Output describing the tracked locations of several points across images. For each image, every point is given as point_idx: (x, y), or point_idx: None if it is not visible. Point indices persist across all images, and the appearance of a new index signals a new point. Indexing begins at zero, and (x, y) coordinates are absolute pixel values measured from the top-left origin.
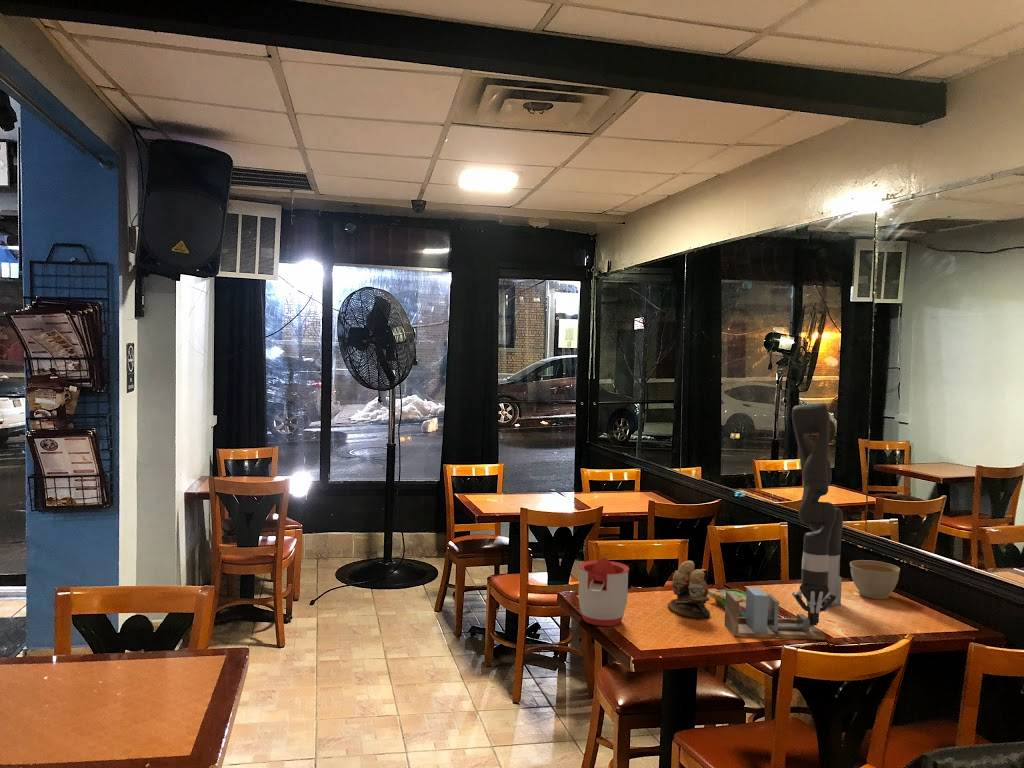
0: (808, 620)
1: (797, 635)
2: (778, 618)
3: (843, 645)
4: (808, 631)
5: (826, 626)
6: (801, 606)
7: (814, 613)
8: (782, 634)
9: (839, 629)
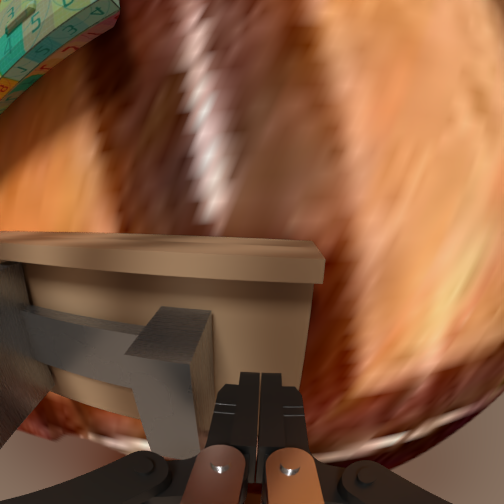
0: (193, 455)
1: (139, 416)
2: (44, 252)
3: (332, 459)
4: (215, 392)
5: (431, 204)
6: (119, 472)
7: (251, 481)
8: (75, 399)
9: (469, 261)
